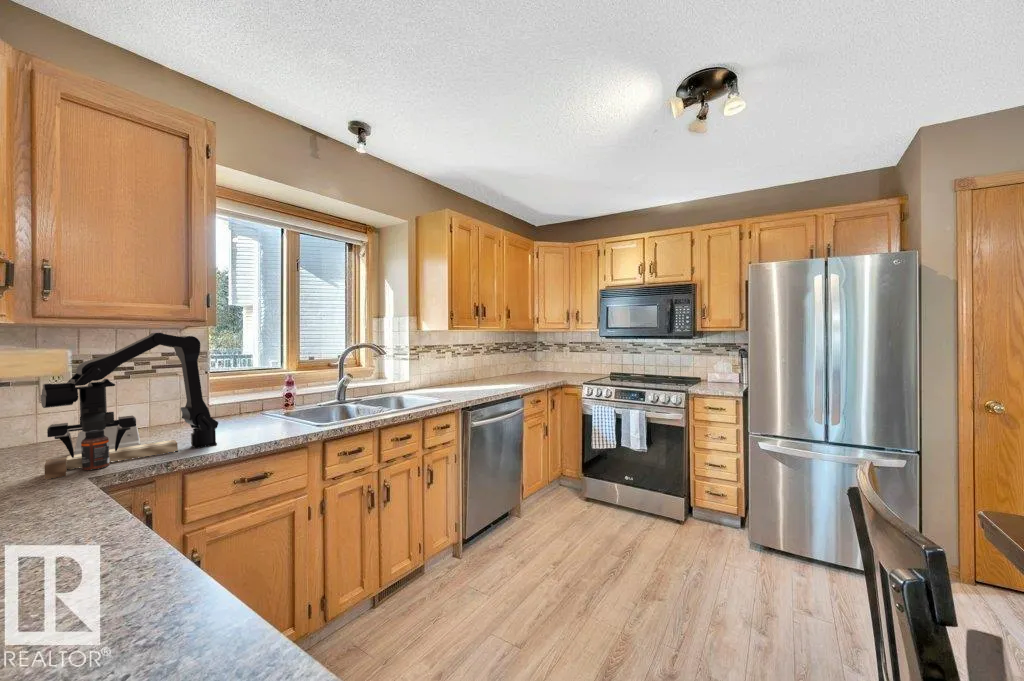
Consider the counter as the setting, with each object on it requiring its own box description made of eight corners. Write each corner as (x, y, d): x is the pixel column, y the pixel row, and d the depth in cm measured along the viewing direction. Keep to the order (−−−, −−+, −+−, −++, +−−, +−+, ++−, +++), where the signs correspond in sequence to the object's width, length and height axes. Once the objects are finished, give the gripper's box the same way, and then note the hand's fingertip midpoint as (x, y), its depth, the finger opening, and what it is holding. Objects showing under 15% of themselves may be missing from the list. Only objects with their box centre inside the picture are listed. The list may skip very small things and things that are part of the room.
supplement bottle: (115, 464, 130) (114, 428, 129) (97, 471, 124) (96, 433, 124) (95, 464, 130) (94, 428, 129) (76, 471, 124) (74, 433, 123)
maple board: (175, 448, 147) (174, 439, 147) (177, 451, 143) (177, 442, 143) (67, 465, 129) (67, 455, 129) (66, 470, 125) (66, 459, 125)
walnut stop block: (66, 470, 124) (66, 457, 124) (65, 476, 120) (65, 462, 119) (46, 473, 122) (46, 460, 121) (44, 479, 117) (44, 465, 117)
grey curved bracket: (72, 456, 138) (73, 426, 140) (75, 458, 142) (75, 429, 144) (140, 447, 149) (139, 419, 151) (141, 449, 152) (140, 421, 155)
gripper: (44, 410, 114) (46, 467, 114) (136, 401, 127) (138, 452, 127) (47, 405, 122) (49, 458, 122) (134, 397, 135) (135, 445, 135)
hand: (95, 453), depth 126 cm, fingers open, 9 cm apart
